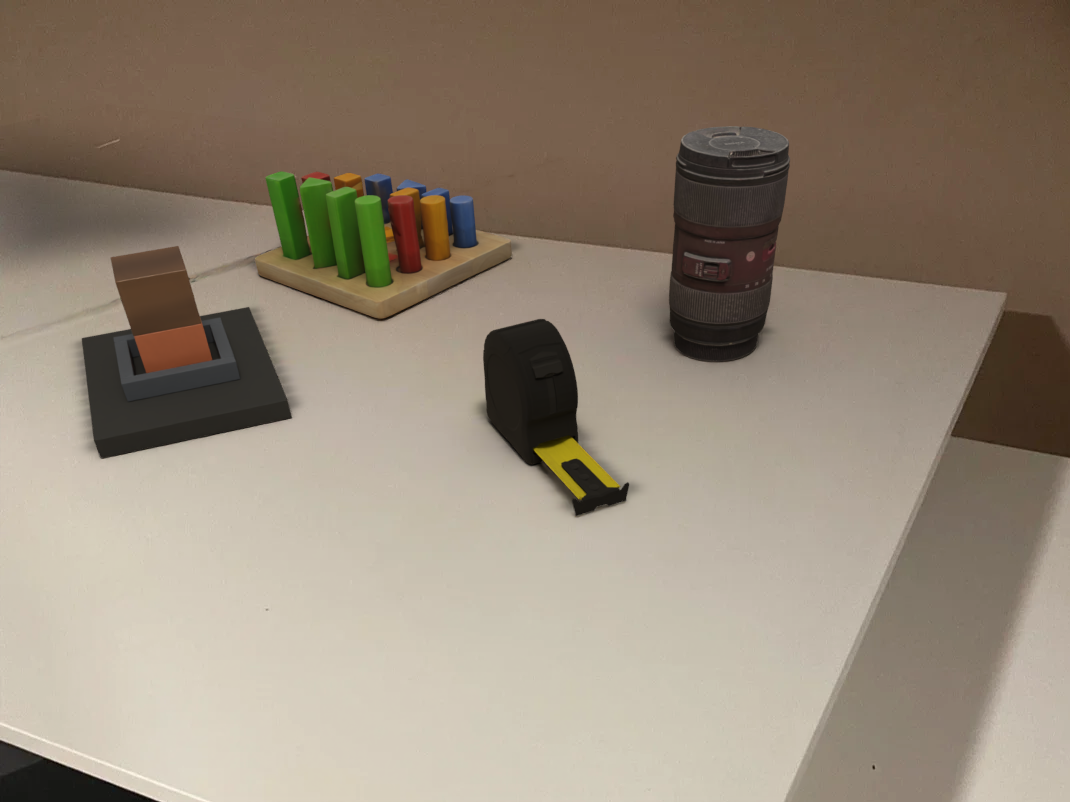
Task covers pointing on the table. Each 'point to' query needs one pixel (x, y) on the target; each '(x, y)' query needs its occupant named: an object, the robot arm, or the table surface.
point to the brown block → (155, 290)
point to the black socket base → (181, 388)
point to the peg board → (374, 241)
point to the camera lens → (725, 238)
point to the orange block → (173, 348)
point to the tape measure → (543, 408)
